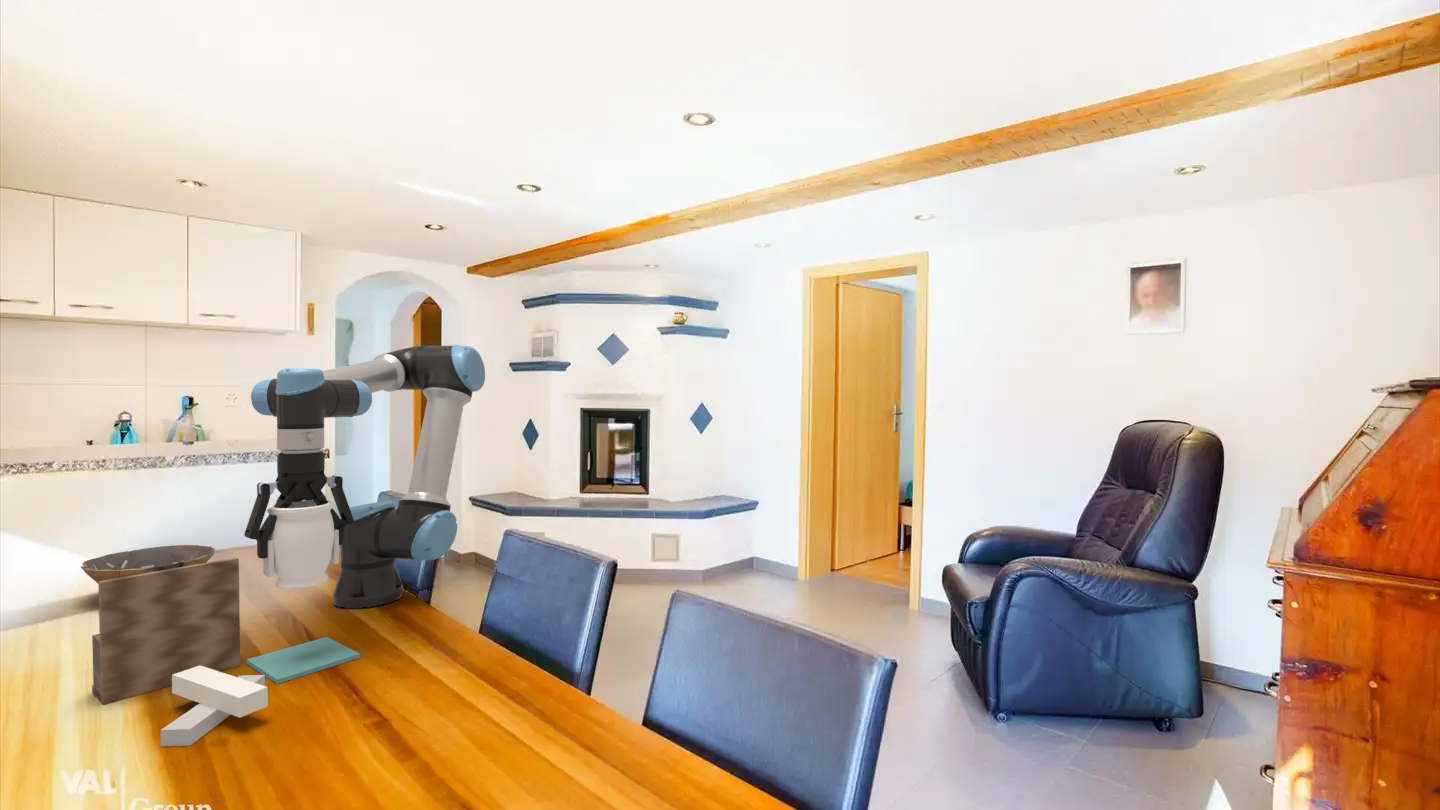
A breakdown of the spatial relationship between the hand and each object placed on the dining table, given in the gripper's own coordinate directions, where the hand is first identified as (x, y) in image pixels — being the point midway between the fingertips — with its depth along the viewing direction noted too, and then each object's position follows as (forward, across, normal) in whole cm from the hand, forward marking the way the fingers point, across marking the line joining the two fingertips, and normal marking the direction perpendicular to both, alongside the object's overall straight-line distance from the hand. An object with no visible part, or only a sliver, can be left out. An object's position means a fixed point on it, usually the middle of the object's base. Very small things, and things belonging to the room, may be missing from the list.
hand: (302, 568), depth 125 cm
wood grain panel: (+18, -17, +11) cm, 27 cm away
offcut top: (+15, -17, -12) cm, 25 cm away
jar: (+3, 0, 0) cm, 3 cm away
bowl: (+18, -6, +71) cm, 74 cm away
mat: (+18, 0, 0) cm, 18 cm away
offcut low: (+18, -17, -12) cm, 27 cm away
